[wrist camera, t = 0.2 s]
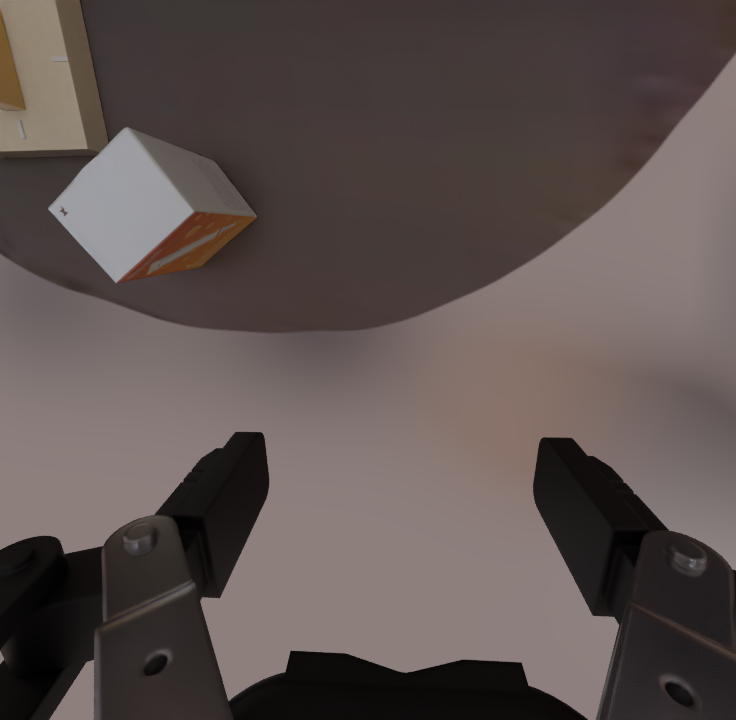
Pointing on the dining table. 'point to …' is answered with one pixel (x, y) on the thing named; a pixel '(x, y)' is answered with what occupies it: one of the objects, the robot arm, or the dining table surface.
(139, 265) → the small box
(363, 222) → the dining table surface
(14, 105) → the tan rectangular block
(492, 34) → the dining table surface
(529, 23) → the dining table surface
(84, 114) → the base
